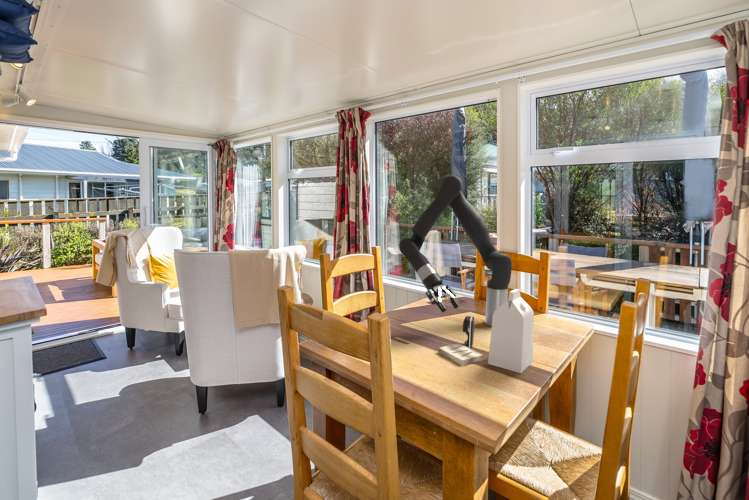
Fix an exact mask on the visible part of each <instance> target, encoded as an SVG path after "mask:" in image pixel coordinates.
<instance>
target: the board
mask: <svg viewBox="0 0 749 500" xmlns="http://www.w3.org/2000/svg"><path fill="white" fill-rule="evenodd" d="M437 349H438V351H437V353H438V354H440V355H442V356H444V357H445V358H447V359H448V360H451V361H452V362H454V363H456V364H458V365H460V366H461V367H463V366H467V365H470V364H475V363H479V362H482V361H484V357H485V356H484V354H482V353H480V352H478V351H477V350H475V349H473V348H468V347H466V346H464V344H462V343H459V342H457V343H453V344H449V345H444V346H440V347H437Z"/></svg>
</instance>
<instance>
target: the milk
mask: <svg viewBox="0 0 749 500" xmlns="http://www.w3.org/2000/svg"><path fill="white" fill-rule="evenodd" d="M508 294H509V295H508V298H507V302H505V303H504V304H503V305H501V306H500V307H499V308H498V309H496V310H495V311H494V313H493V321H492V326H491V331H490V342H489V351H488V360H487V364H488V365H491V366H494V367H498V368H502V369H505V370H509V371H512V372H516V373H519V374H522V373H523V372H524V371H525V370H526V369H527V368H528V367H529V366H531V364H532V363H533V361H534V325H535V324H534V321H535V318H534V316H535V315H534V314H535V313H534V310H533V309H532V307H531V306H530V305H529V303H528V302H526V301H525V300H524V299H523V297H521V290H520V289H518V288H515V289H512V290H511V291H509V292H508Z"/></svg>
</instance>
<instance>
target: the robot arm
mask: <svg viewBox="0 0 749 500" xmlns="http://www.w3.org/2000/svg"><path fill="white" fill-rule="evenodd" d="M436 185H437V186H436V187H437V190H438V192H437V195H436V196H435V198H434V199H433V201H432V202H431V203H430V205H428V206H427V208H426V209H425V210H424V211H423V212H422V213H421V215H420V216H419V217H418V219H417V220H416V222H415V224H414V225H413V226H412V228H411V233H412V234H411V235H410V236H411V237H410V238H409V237H404V238H402V239H401V240H400V241H399V243H398V248H399V251H400V253H401V254H402V256H403V257H404V258H405V260H407V261H408V262H409V263H410V265H411V266H412V269H414V272H416V274H417V276H418V278H419V280H420V281H421V283H422V284H423V286H424V288H425V289H426V292H425V295H426V296H427V298H428V300H429V302H430V303H431V305H433V306H434V305H436V306H437V307H438V308H439V310H440V311H441V313H445V312H446V311H447V310H448V309H447V307H446V306H445V304H444V303H443V301H442V299H444V300H445V299H446V300H448V302H449V301H450V304H451V305H452V307H453V308H454V309H455V310H456V309H458V307H460V305H459V303H458V302H457V299H456V297H457V294H456V292H455V291H454V290H453V289H452V287H451V286H450V285H449V284H446V286H445V285H444V284H443V282H444V280H443V279H442V277H441V276H440V274H439V273H438V271H437V270H436V269H435V267H433V265H432V264H431V263H430V260H429V259H428V258H427V257H426V255H424V254H423V253H422V252H421V249H422V247H423V244H424V243H425V239H426V237H427V235H428V234H429V233H430V231H431V230H432V228H433V227H434V225H435V224H436V222H437V221H438V219H439V218H440V217H441V215H442V214H443V212H444V211H445V210H446V209H447V207H448V206H450V207H451V209H452V211H453V213H454V215H455V217H456V218H457V220H458V222H459V223H460V226H461V227H462V228H463V231H464V232H465V234H466V235H467V236H468V238H469V239H470V241H471V243H472V244H473V245H474V246H475V248H476V250H477V251H478V253H479V255H480V257H481V258H482V261H483V263H484V266H486V269H488V270H489V271H491V278H490V279H489V280H487V283H486V297H485V298H486V302H485V317H484V318H485V319H484V324H485V325H487V326H489V327H492V321H493V313H494V311H495V310H496V309H498V308H499V307H500V306H501V305H503V304H504V303H505V302H507V301H508V299H509V295H508V294H509V292H508V291H509V286H510V285H509V284H510V283H511V280H512V279H511V278H512V269H513V268H512V267H513V262H512V258H511V257H510V256H509V254H505V253H503V252H499V251H498V249H497V248H496V247H495V245H494V244H493V242H492V241H491V237H490V232H489V227H488V226H487V223H486V222H485V221H484V220H485V219H483V217H482V215H480V213H479V212H478V211H477V209H476V208H475V207H474V206H473V205H472V204H471V203H470V201H468V200H467V199H466V197H465V196H464V194H463V192H462V190H463V182H462V180H461V178H460V177H458V176H456V175H453V174H452V175H451V174H445V175H442V176H441V177H439V178H438V181H437V184H436Z"/></svg>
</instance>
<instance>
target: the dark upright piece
mask: <svg viewBox="0 0 749 500" xmlns="http://www.w3.org/2000/svg"><path fill="white" fill-rule="evenodd" d="M462 332H463V333H465V334H466V337H467V339H466V340H465V341H464V343H463V345H464V346H466V347H468V348H470V349H473V345H474V339H475V338H474V335H475V333H474V332H475V316H470V315H469V316H468V315H466V316H465V317H464V318H463V323H462Z"/></svg>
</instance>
